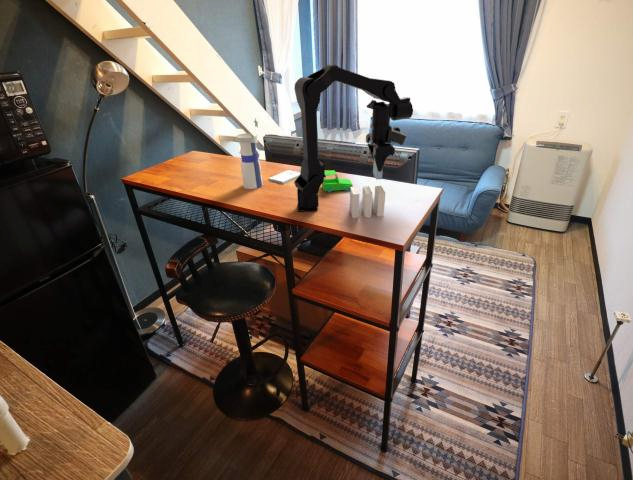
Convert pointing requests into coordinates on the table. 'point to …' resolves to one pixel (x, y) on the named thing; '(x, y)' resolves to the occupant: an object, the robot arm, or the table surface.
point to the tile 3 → (379, 201)
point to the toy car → (335, 183)
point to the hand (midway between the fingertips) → (377, 168)
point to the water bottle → (250, 160)
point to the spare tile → (375, 171)
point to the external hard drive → (284, 177)
